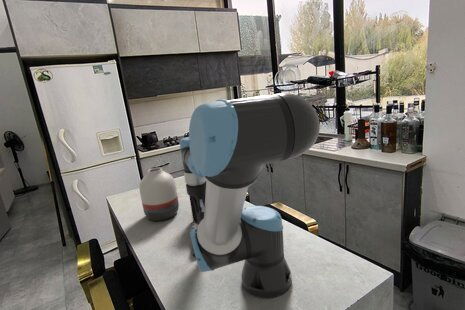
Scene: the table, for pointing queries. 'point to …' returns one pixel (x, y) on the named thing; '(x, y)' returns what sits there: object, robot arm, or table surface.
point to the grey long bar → (194, 225)
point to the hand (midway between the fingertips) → (205, 242)
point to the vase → (158, 195)
